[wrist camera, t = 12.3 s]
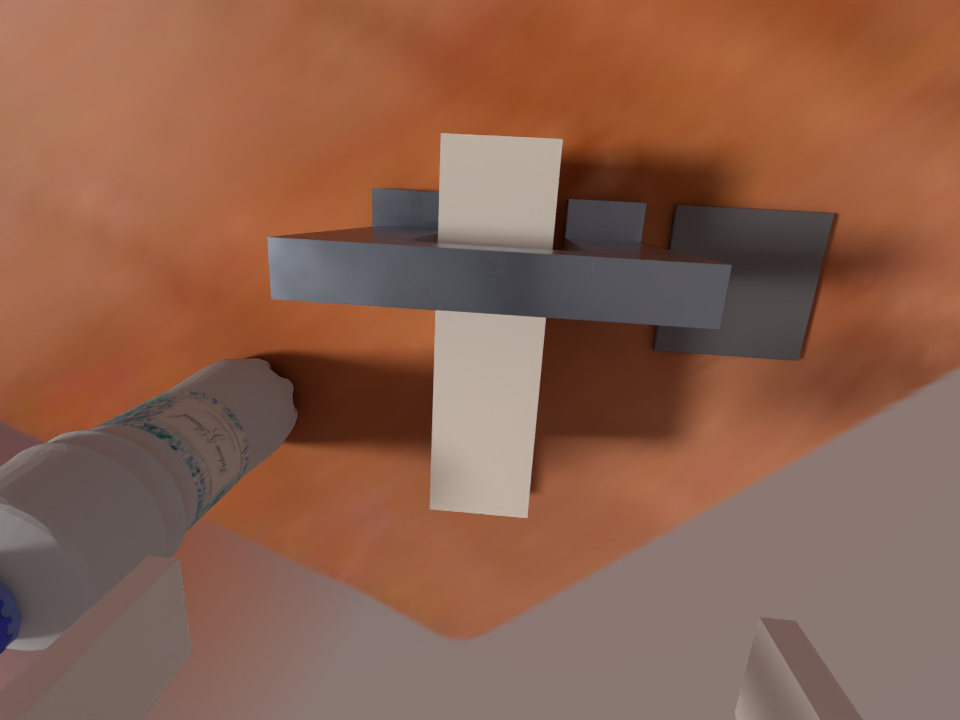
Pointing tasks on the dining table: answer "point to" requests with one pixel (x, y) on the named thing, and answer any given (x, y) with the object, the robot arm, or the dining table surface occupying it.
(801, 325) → the mat
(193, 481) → the bottle
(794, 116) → the dining table surface
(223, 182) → the dining table surface
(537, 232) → the white block
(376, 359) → the dining table surface
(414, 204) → the blue-grey arch stand
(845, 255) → the dining table surface
